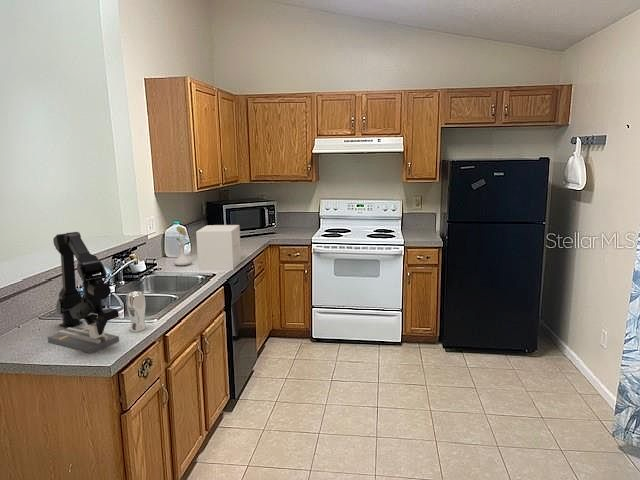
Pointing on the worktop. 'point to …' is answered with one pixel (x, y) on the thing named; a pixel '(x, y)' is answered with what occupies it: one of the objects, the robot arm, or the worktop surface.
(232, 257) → the cube
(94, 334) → the fader knob
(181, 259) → the flower in vase
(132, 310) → the beer glass
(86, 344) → the fader console
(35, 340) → the worktop surface
